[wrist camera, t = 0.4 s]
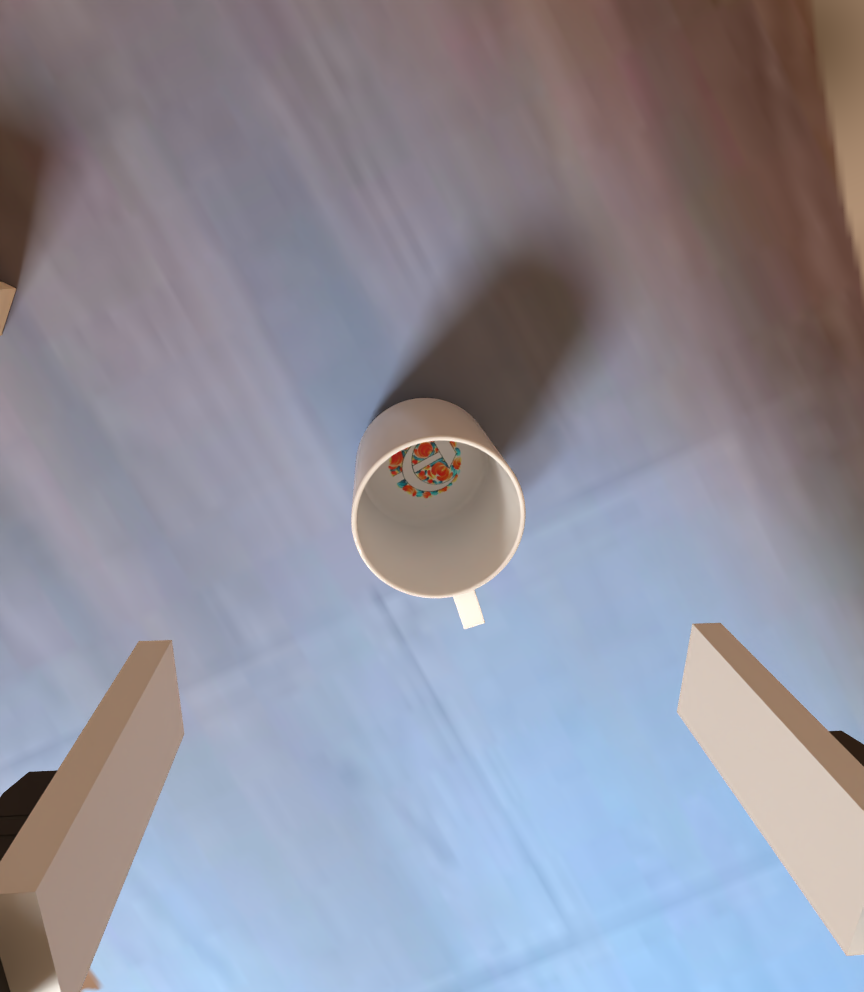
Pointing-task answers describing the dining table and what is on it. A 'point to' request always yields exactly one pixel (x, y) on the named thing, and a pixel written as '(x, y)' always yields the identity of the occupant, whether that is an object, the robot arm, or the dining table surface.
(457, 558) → the mug
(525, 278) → the dining table surface
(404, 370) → the dining table surface
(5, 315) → the birch board
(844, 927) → the robot arm
